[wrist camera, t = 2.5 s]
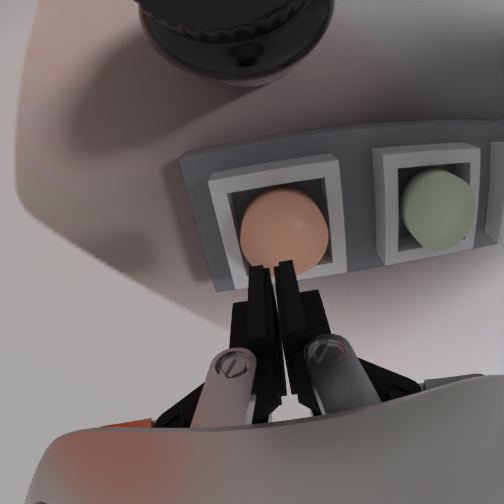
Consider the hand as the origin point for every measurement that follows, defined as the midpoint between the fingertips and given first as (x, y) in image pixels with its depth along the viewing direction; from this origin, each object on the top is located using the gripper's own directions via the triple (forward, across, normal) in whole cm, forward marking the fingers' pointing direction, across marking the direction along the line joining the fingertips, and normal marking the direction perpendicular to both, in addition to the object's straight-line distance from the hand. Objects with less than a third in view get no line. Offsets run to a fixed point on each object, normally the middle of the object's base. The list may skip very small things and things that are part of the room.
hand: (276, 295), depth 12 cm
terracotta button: (+6, -1, 0) cm, 6 cm away
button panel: (+9, -10, 0) cm, 13 cm away
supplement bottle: (+9, -1, -11) cm, 15 cm away
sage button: (+6, -10, 0) cm, 11 cm away
